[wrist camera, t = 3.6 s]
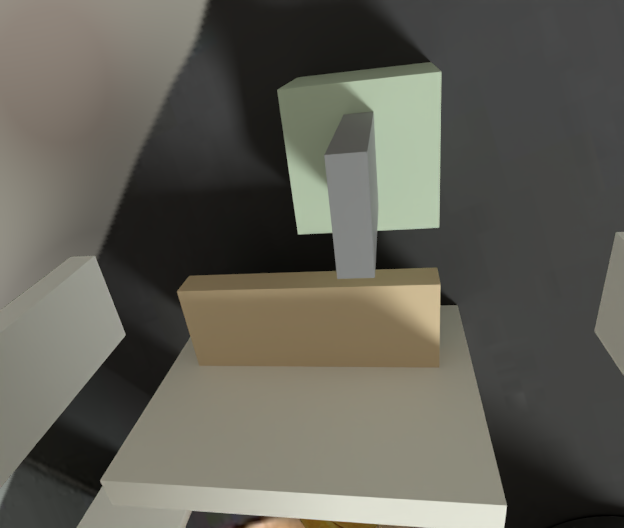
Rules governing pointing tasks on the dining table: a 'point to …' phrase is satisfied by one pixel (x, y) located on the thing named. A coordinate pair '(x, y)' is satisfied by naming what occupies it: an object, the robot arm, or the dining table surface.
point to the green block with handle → (363, 156)
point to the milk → (130, 515)
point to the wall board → (317, 406)
